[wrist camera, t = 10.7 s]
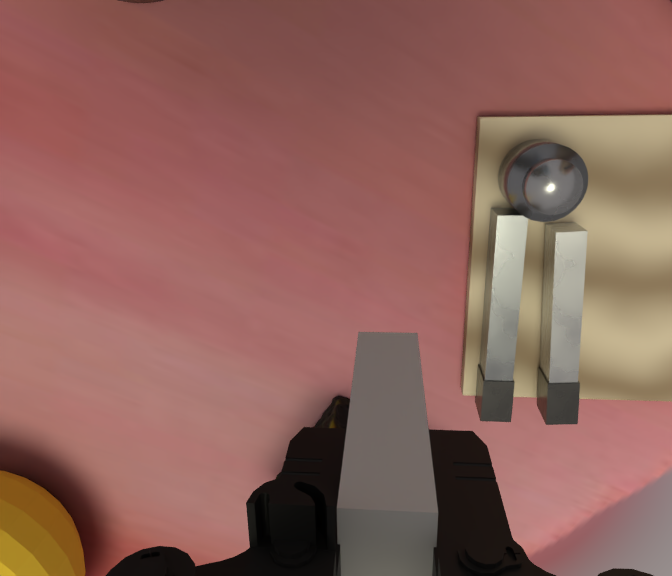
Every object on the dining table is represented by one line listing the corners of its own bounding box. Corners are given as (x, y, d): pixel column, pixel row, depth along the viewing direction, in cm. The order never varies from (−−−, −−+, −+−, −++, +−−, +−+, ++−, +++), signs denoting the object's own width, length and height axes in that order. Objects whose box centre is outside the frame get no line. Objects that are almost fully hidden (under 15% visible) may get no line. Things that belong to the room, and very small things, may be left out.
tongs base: (494, 139, 35) (503, 144, 32) (575, 138, 34) (593, 143, 31) (475, 401, 41) (481, 426, 38) (544, 403, 40) (556, 429, 37)
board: (477, 116, 36) (480, 117, 34) (766, 112, 34) (780, 113, 33) (460, 387, 42) (462, 395, 41) (704, 393, 40) (713, 402, 39)
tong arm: (510, 153, 35) (526, 161, 31) (580, 148, 34) (606, 156, 30) (506, 405, 40) (519, 441, 36) (566, 404, 40) (586, 439, 36)
